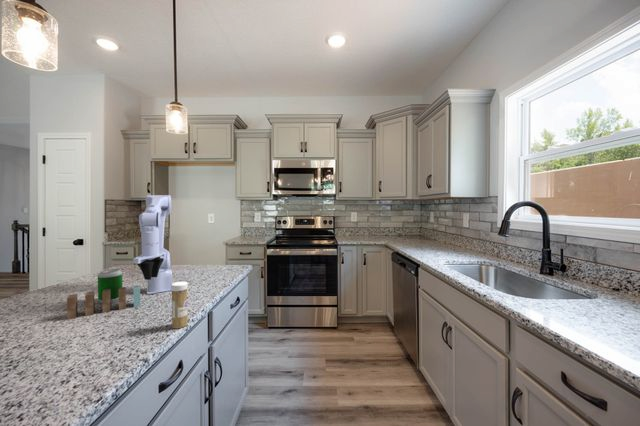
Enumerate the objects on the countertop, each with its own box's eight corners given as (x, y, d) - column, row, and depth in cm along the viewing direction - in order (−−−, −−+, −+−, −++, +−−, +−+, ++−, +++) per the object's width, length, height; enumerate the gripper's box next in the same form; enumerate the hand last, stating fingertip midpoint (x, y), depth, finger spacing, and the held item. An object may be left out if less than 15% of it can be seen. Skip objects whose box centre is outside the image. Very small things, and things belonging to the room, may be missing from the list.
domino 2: (94, 310, 93) (94, 291, 93) (93, 314, 89) (92, 294, 89) (87, 312, 92) (86, 292, 92) (85, 316, 88) (85, 295, 88)
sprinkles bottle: (185, 328, 80) (185, 284, 79) (169, 329, 79) (168, 285, 78) (189, 321, 84) (189, 280, 84) (174, 323, 83) (173, 281, 83)
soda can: (127, 298, 105) (126, 269, 105) (106, 305, 98) (105, 274, 97) (114, 296, 107) (113, 268, 107) (93, 303, 100) (92, 272, 100)
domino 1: (77, 313, 90) (77, 293, 90) (75, 318, 87) (75, 297, 87) (69, 315, 89) (69, 295, 89) (67, 319, 86) (66, 298, 85)
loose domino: (140, 302, 101) (139, 284, 101) (140, 306, 97) (140, 287, 97) (133, 303, 100) (133, 285, 100) (133, 307, 96) (133, 288, 96)
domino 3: (110, 307, 96) (110, 289, 96) (110, 311, 92) (109, 292, 92) (103, 309, 95) (103, 290, 94) (102, 313, 91) (102, 293, 91)
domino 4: (126, 305, 98) (125, 286, 98) (125, 308, 95) (125, 289, 95) (119, 306, 97) (119, 287, 97) (119, 310, 94) (118, 290, 93)
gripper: (154, 240, 108) (155, 273, 109) (125, 246, 94) (126, 283, 94) (170, 241, 108) (170, 273, 108) (143, 246, 93) (144, 283, 94)
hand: (151, 278), depth 101 cm, fingers open, 3 cm apart
